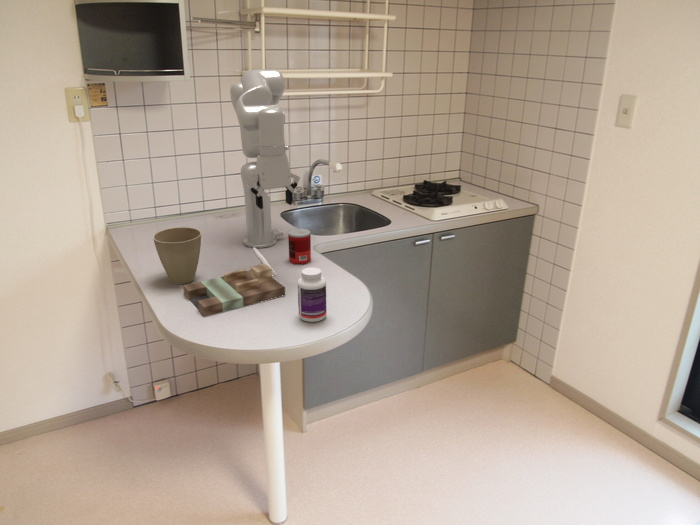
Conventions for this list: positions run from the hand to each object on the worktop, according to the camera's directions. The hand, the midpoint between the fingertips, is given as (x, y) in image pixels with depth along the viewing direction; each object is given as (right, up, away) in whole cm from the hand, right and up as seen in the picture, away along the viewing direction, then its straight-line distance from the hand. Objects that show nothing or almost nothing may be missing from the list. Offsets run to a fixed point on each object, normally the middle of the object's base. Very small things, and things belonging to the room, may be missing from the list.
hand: (274, 205), depth 178 cm
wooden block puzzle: (-12, -28, 0) cm, 31 cm away
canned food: (+6, -17, +27) cm, 32 cm away
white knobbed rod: (-8, -18, +26) cm, 33 cm away
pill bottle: (+13, -34, -13) cm, 38 cm away
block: (-5, -23, +4) cm, 24 cm away
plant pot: (-32, -24, +10) cm, 41 cm away
